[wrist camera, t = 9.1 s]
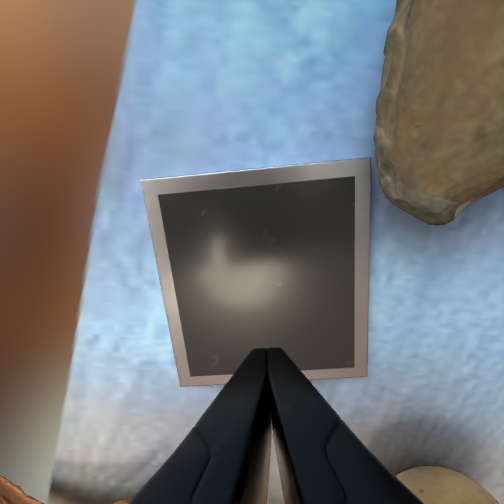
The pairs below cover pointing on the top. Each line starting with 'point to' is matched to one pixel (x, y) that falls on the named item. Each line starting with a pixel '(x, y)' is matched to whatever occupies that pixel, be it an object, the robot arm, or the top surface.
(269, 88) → the top surface
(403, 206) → the stone
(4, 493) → the bird sculpture
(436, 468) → the tan rounded piece
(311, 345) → the tablet
